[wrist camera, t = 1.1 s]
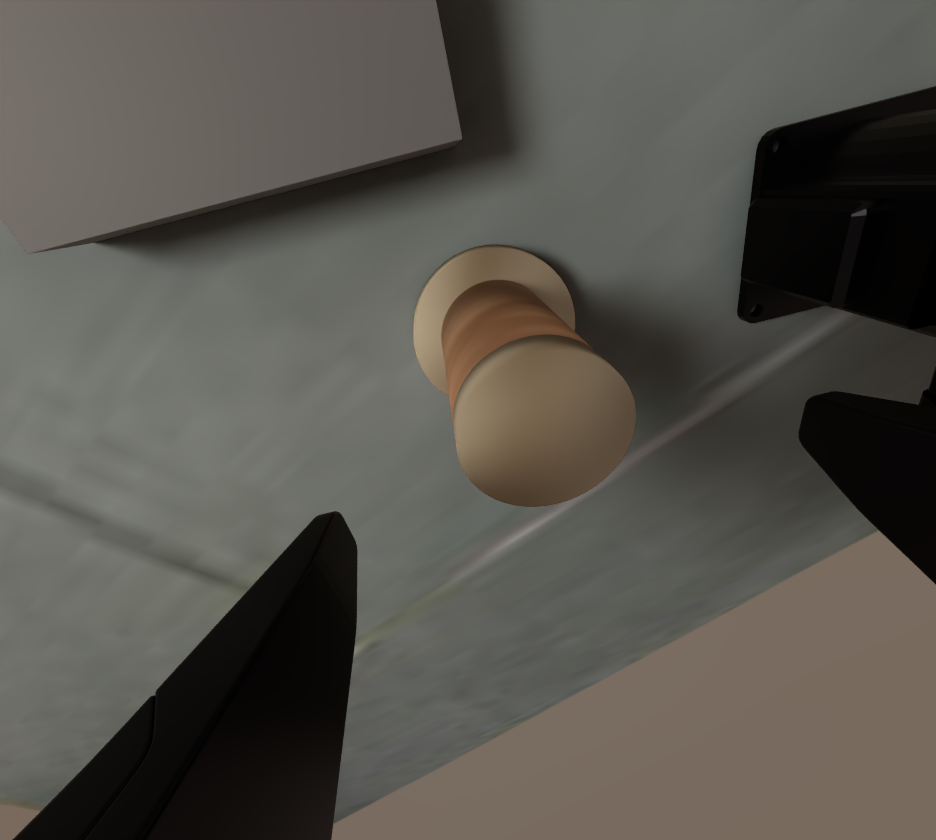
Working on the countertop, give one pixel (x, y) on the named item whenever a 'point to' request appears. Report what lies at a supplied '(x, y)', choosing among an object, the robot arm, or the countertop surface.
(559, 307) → the spool
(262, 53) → the gray u-shaped block
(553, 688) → the countertop surface
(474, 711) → the countertop surface
